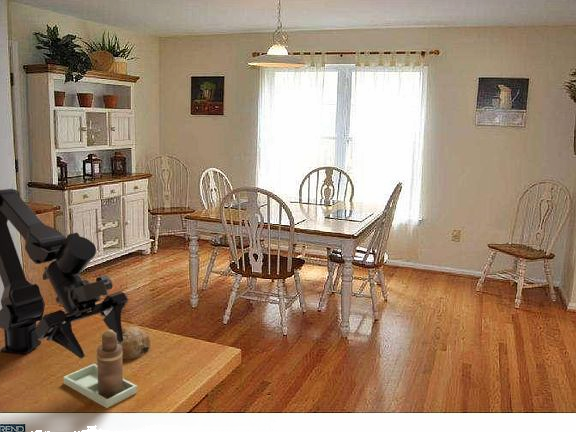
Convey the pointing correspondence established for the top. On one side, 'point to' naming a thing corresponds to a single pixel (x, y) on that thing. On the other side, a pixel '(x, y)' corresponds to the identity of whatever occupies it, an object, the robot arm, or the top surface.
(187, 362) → the top surface
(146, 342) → the bread roll
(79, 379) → the caddy
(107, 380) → the pepper mill
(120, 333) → the robot arm
